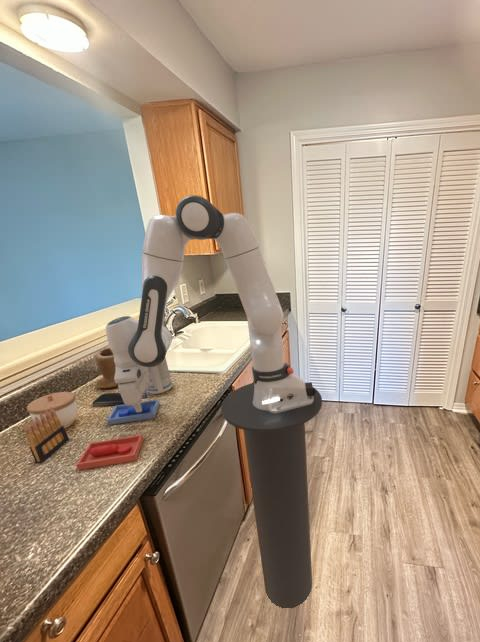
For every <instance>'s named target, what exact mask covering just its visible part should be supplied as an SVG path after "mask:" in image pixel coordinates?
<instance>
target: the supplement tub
mask: <svg viewBox="0 0 480 642" xmlns="http://www.w3.org/2000/svg"><path fill="white" fill-rule="evenodd" d="M148 372H149V376H150V381H149V383H148V385H147V388H148V394H150V395H158V394H163V393H166V392H167V391H169V390H170V389H172V386H173V382H172V378H171V374H170V370H169V366H168V362H167V358H166V357H165V359H164V360H163V362H162V363H161V364H159V365H157V366H154V367H148Z"/></svg>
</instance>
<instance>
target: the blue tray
mask: <svg viewBox="0 0 480 642" xmlns="http://www.w3.org/2000/svg"><path fill="white" fill-rule="evenodd" d="M145 404H148V405H150V407H151V409H150V410H149V411H148V412H142V413H135V414H130V415H128V416H126V417H119V415H118V412H119V411H121V410H123V409H128V408H129V407H131V406H126V405H125V404H124V405H114V408H113V410H112V411H111V413H110V415H109V416H108V418H107V419H106V421H107V424H108V426H113V425H117V424H119V425H120V424H125V423H131V422H139V421H144V420H151V419H155V418H156V415H157V414H158V410H159V407H160V405H161V404H160V401H159V399H153V400H147V401H146V400H145V401H140V405H145Z"/></svg>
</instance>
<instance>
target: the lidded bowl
mask: <svg viewBox="0 0 480 642" xmlns="http://www.w3.org/2000/svg"><path fill="white" fill-rule="evenodd" d="M76 399H77V398H76V395H75V393H74V392H71V391H58V392H53V393H50V394H46V395H43V396H41V397H39V398H36V399H34V400H32V401H31V402H29V403H28V404H27V406H26V410H27V412H28V413H29V415H30V418H31V420H32V421H33V422H34V423H35V417H37V418H38V419H39V420H40V413H42V414H43V415H44V417H45V418H46V416H45V410H47V411H48V412H49V413H50V407H52V408H53V409H54V411H55V413H56V415H57V417H58V418H59V420H60V423H61V425H62V426H63V427H64V429H66V428H68V427H70V426H72V425H73V424H74V421H75V420H76V418H77V417H78V413H79V407H78V402H77V400H76ZM50 415H51V414H50ZM46 420H47V419H46ZM40 422H41V420H40ZM41 424H42V422H41Z"/></svg>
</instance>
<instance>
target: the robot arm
mask: <svg viewBox="0 0 480 642" xmlns="http://www.w3.org/2000/svg"><path fill="white" fill-rule="evenodd" d="M190 240H191V241H192V240H197V241H204V240H214V241H216V243H217V244H218V246H219V248H220V250H221V252H222V255H223V258H224V261H225V263H226V265H227V269H228V270H229V271H228V272H229V273H230V275H231V278H232V281H233V283H234V286H235V288H236V291H237V294H238V297H239V300H240V302H241V304H242V307H243V310H244V312H245V315H246V318H247V319H246V320H247V328H248V334H249V343H250V351H251V360H252V366H251V374H252V381H253V383H254V397H253V405H254V406H255V407H256V408H258V409H261V410H265V411H269V412H271V413H274V414H276V413H280V412H284V411H288V410H291V409H295V408H299V407H303V406H306V405H310V404H312V403H313V401H314V397H313V396H314V395H315V393H316V390H317V389H316V388H315V387H314V386H313V383H312V382H305V381H304V380H303V378H301V377H300V376H298V375H296V374H294V369H293V368H292V367H291V365H290V364H288V362H287V361H286V362H285V354H284V352H285V351H284V341H283V336H282V335H283V334H282V329H281V327H282V325H283V321H284V311H283V309H282V305H281V303H280V300H279V298H278V295H277V292H276V290H275V289H276V288H275V287H274V285H273V282H272V279H271V277H270V273H269V272H268V268H267V266H266V263H265V260H264V257H263V255H262V254H263V253H262V252H261V248H260V246H259V242H258V240H257V238H256V235H255V233H254V231H253V229H252V227H251V225H250V223H249V221H248V220H247V218H246V217H245V216H244V215H243V214H242V213H238V212H229V213H225V214H223V213H222V212H221V210H219V209H218V208H217V207H216V206H215V205H214V204H212V203H211V202H210V200H208V199H207V198H205V197H203V196H201V195H196V194H190V195H187V196H185V197H183V198H182V199H181V200H180V201H179V202H178V203H177V205H176V207H175V215H167V214H156V215H153V216H152V217H151V218H150V219H149V221H148V223H147V226H146V230H145V234H144V238H143V245H142V254H141V300H140V307H139V308H140V309H139V315H138V319H136V318H134V317H132V316H129V315H125V316H120V317H117V318H114V319H112V320H111V321H109V322H108V323H107V324H106V325H105V334H106V339H107V342H108V347H110V350H111V351H112V353H113V355H114V363H115V366H116V367H115V369H116V372H115V376H114V380H115V383H116V384H118V383H119V385H117V387H118V390H119V393H120V394H121V396H122V399H123V401H124V403H125V405H126V406H133V407H134V408H135V410H136V412H141V411H142V409H143V408H142V405H140V402H141V399H142V400H146V399H148V398H149V393H148V388H147V385H148V383H149V381H150V376H149V372H148V367H154V366H157V365H159V364H161V363H162V362H163V360H164V359H165V358H166V355H167V352H168V350H169V349H170V346H171V344H172V342H173V335H172V333H171V331H170V329H169V328H168V327H166V325H164V319H165V313H166V312H165V311H166V306H167V303H168V301H169V298H170V297H171V295H172V293H173V292H174V291H175V288H176V287H177V286H178V284H179V281H180V278H181V275H182V271H183V266H184V259H185V252H186V247H187V244H188V242H189V241H190ZM313 387H314V388H315V389H316V390H315V389H314V388H313Z"/></svg>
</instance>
